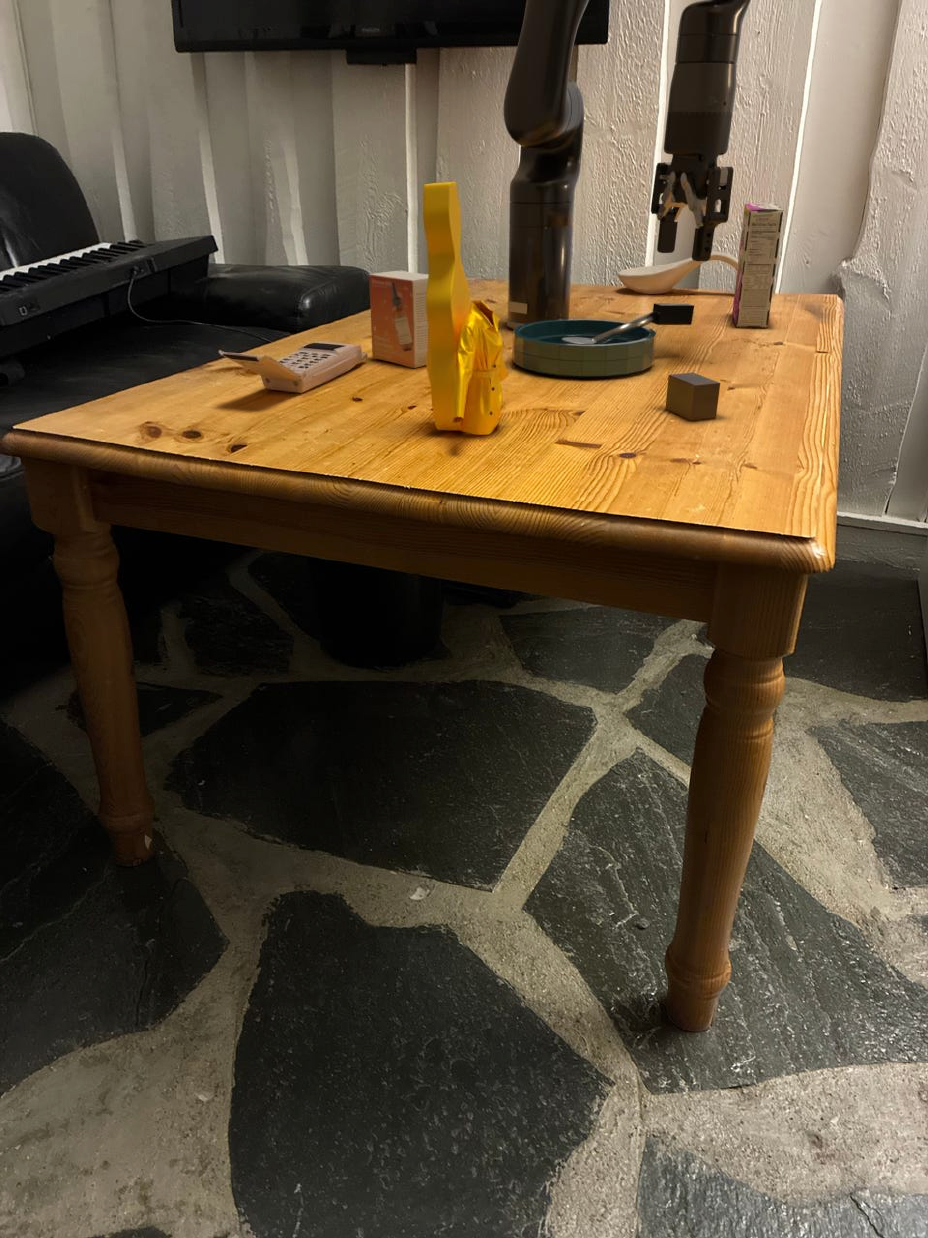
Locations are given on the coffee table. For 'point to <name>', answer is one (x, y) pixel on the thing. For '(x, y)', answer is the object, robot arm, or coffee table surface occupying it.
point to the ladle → (642, 323)
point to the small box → (399, 317)
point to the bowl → (582, 349)
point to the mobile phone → (302, 365)
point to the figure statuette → (458, 326)
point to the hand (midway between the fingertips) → (682, 256)
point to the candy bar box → (757, 264)
